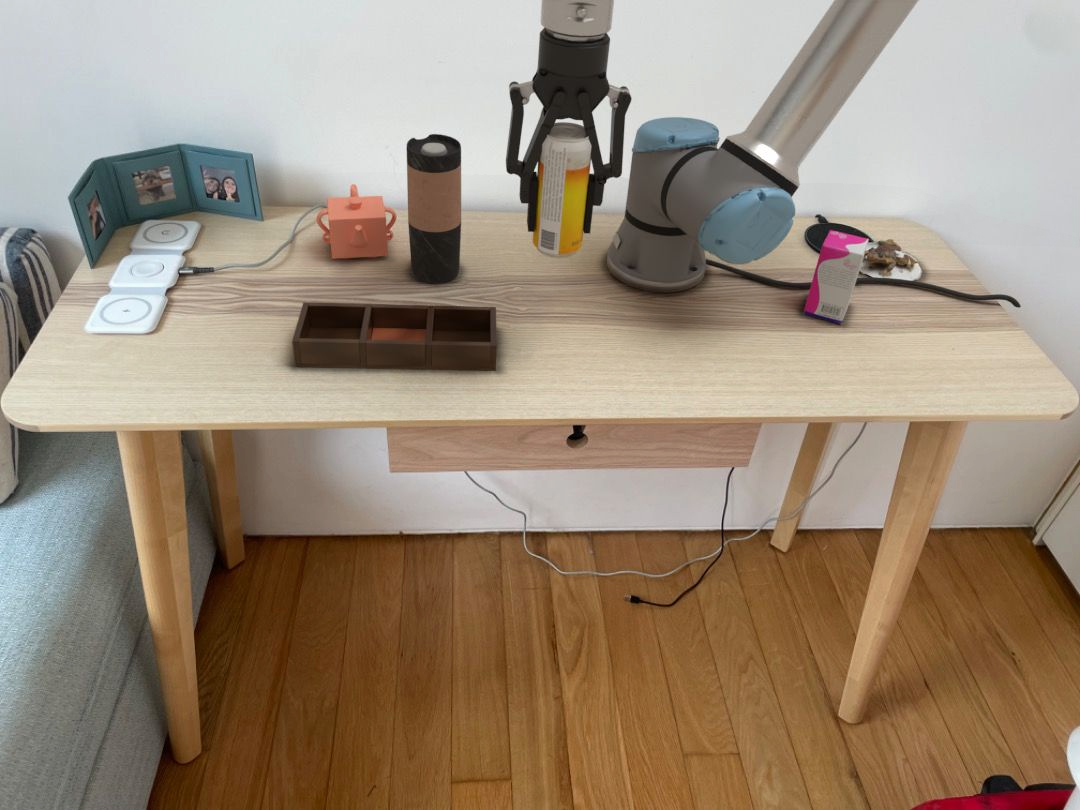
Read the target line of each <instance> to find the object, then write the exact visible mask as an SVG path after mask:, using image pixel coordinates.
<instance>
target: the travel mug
mask: <svg viewBox="0 0 1080 810" xmlns="http://www.w3.org/2000/svg"><path fill="white" fill-rule="evenodd" d="M406 183H407V185H406V187H407V188H406V189H407V223H408V224H407V225H408V235H409V236H408V238H409V252H410V253H409V254H410V268H411V273H412V275H413V277H414V278H415V279H416V280H418V281H420V282H423V283H427V284H435V285H436V284H444V283H449V282H451V281H453V280H455V279H456V278H457V277H458V276H459V274H460V261H461V238H462V144H461V143H460V141H459V140H458V139H456V138H455V137H452V136H449V135H447V134H446V135H445V134H440V133H439V134H438V133H430V134H429V135H428V136H426V137H424V138H420V139H419V138H418V139H417V138H416V137H411V138H409V140H408V141H407V142H406Z"/></svg>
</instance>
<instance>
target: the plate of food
mask: <svg viewBox="0 0 1080 810" xmlns="http://www.w3.org/2000/svg"><path fill="white" fill-rule="evenodd" d="M859 273H861V274H862V275H868V276H869V277H876V278H893V279H903V280H910V281H919V279H920V278H921V277H922V273H923V271H922V268H921V267H920V264H919V262H918V260H917V259H916V257H915V256H913V255H912V254H911V253H909V252H907V251H906V252H903V251H902V247H901V246H900V245H899V244H898V243H897V242H896V241H894V239H893V238H889V239H880V240H879V241H872V242H868V244H867V247H866V251H865V254H864V257H863V261H862V264H861V267H860V270H859Z"/></svg>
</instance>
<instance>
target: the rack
mask: <svg viewBox="0 0 1080 810" xmlns="http://www.w3.org/2000/svg"><path fill="white" fill-rule="evenodd" d="M295 326H296V327H295V330H294V334H293V337H292V341H291V344H292V351H293V358H294V366H295V368H332V369H333V368H336V369H338V368H339V369H384V370H386V369H387V370H388V369H389V370H432V371H433V370H437V371H439V370H442V371H485V372H486V371H491V372H492V371H495V372H496V371H497V352H498V351H497V349H498V338H497V335H498V333H497V332H498V331H497V306H477V305H476V306H471V305H469V306H468V305H431V304H430V305H427V304H426V305H425V304H421V305H420V304H390V303H389V304H386V303H385V304H383V303H357V302H356V303H355V302H353V303H352V302H348V303H347V302H313V301H312V302H307V301H306V302H305V301H303V302H302V306H301V309H300V312H299V315H298V320H297V323H296V325H295Z"/></svg>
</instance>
